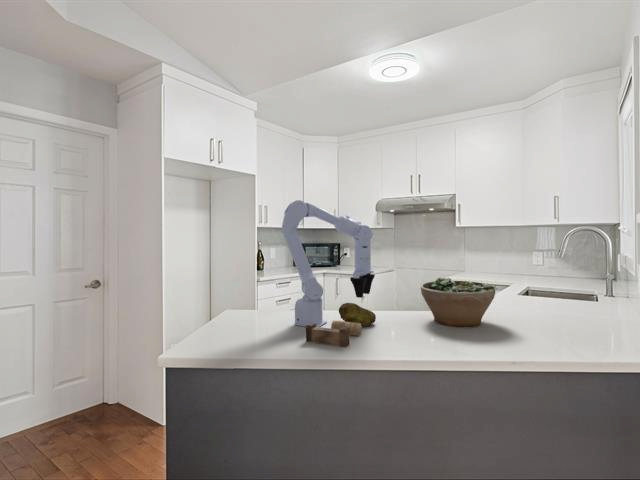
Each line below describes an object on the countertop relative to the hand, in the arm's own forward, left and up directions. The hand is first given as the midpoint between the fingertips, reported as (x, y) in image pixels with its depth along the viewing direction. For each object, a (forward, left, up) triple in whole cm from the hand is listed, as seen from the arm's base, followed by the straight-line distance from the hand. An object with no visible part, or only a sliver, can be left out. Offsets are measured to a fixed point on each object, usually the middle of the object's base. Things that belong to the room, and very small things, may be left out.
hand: (363, 295), depth 136 cm
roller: (0, -17, -10) cm, 20 cm away
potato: (0, -6, -10) cm, 11 cm away
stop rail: (-2, -28, -10) cm, 30 cm away
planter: (+31, +13, -10) cm, 35 cm away
